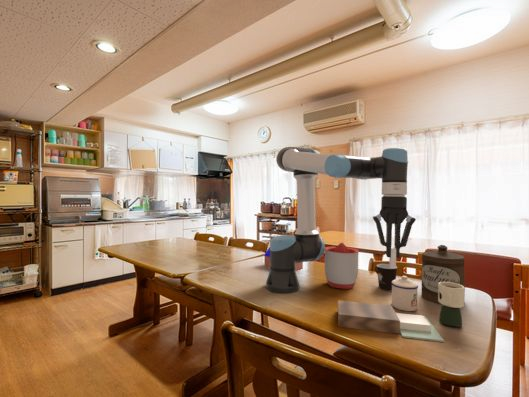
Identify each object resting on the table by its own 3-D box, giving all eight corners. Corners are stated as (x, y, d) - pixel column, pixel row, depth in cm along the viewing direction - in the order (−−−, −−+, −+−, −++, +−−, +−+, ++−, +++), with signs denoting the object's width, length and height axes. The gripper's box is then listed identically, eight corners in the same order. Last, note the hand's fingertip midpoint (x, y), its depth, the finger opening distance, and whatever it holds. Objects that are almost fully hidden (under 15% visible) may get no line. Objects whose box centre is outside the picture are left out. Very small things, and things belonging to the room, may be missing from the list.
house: (290, 273, 147) (290, 252, 147) (263, 266, 161) (263, 247, 161) (303, 269, 156) (303, 249, 156) (276, 263, 170) (277, 244, 170)
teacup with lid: (417, 314, 98) (417, 281, 97) (389, 308, 102) (389, 277, 102) (419, 302, 108) (419, 273, 108) (393, 298, 113) (394, 269, 112)
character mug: (439, 315, 96) (440, 278, 96) (464, 321, 92) (465, 283, 92) (435, 327, 88) (436, 286, 88) (462, 334, 83) (463, 291, 83)
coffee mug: (399, 292, 120) (399, 269, 120) (378, 290, 121) (378, 268, 121) (392, 283, 131) (392, 262, 131) (373, 282, 133) (373, 261, 133)
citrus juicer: (356, 280, 136) (357, 240, 135) (360, 292, 119) (361, 246, 118) (324, 277, 139) (324, 238, 139) (323, 289, 122) (324, 244, 122)
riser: (338, 326, 88) (338, 314, 88) (337, 311, 99) (338, 300, 99) (399, 333, 83) (399, 320, 83) (391, 316, 95) (391, 305, 95)
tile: (398, 328, 86) (399, 322, 86) (393, 318, 93) (393, 312, 93) (430, 331, 84) (430, 325, 84) (422, 321, 91) (422, 315, 91)
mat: (402, 337, 81) (402, 335, 81) (391, 314, 97) (391, 313, 97) (444, 342, 79) (444, 340, 79) (425, 318, 94) (425, 316, 94)
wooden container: (416, 298, 113) (417, 245, 112) (427, 289, 123) (427, 240, 123) (460, 309, 102) (461, 250, 102) (467, 298, 113) (468, 245, 112)
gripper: (374, 195, 88) (373, 268, 88) (419, 196, 85) (417, 272, 85) (371, 195, 95) (369, 263, 95) (412, 196, 92) (411, 265, 92)
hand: (392, 267), depth 90 cm, fingers closed
